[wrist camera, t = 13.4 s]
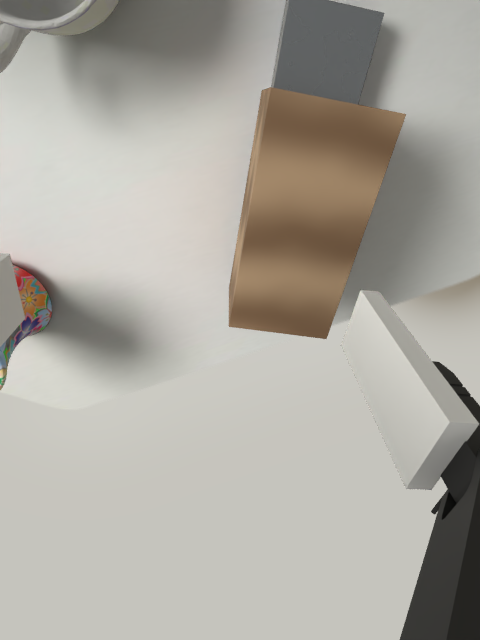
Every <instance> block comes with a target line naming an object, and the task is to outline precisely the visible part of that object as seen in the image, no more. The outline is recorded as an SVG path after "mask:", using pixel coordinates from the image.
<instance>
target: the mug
mask: <svg viewBox="0 0 480 640" xmlns="http://www.w3.org/2000/svg"><path fill="white" fill-rule="evenodd" d="M13 269H14V273H15V278H16V282H17V286H18V290H19V295H20V299H21V303H22V307H23V311H24V316H25V319H24V320H23V322H22V323H21V324H20V325H19V326H18V327H17V328H16V330H15V331H14V332H13V333H12V334H11V335H10V336H9V338H8V339H7V340H6V341H5V342H4V343H3V345H2V346H1V347H0V390H1V389H2V387H3V385H4V383H5V380H6V375H7V367H8V362H9V359H10V357H11V354H12V352H13V350H14V349H15V347H16V346H17V345H18V343H19V342H20V341H21V340H23V339H24V338H25V337H27V336H31V335H34V334H36V333H38V332H40V331H41V330H43V329H44V328H45V327H46V326H47V324H48V323H49V321H50V318H51V314H52V305H51V300H50V298H49V295H48V293H47V291H46V290H45V288H44V287H43V286H42V284H41V283H40V282H39V281H38V280H37V279H36V278H35V277H34V276H32V275H31V274H30V273H28V272H27V271H25V270H23V269H22V268H19V267H17V266H15V265H13Z"/></svg>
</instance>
